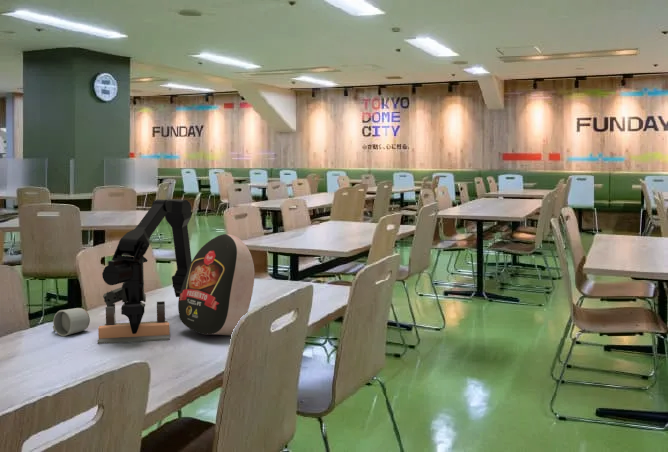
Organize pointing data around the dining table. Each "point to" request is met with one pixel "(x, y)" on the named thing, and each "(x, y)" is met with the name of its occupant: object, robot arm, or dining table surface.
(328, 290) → the dining table surface
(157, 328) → the rail
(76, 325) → the ceramic mug
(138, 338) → the mat
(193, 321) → the packaged food
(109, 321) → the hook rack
